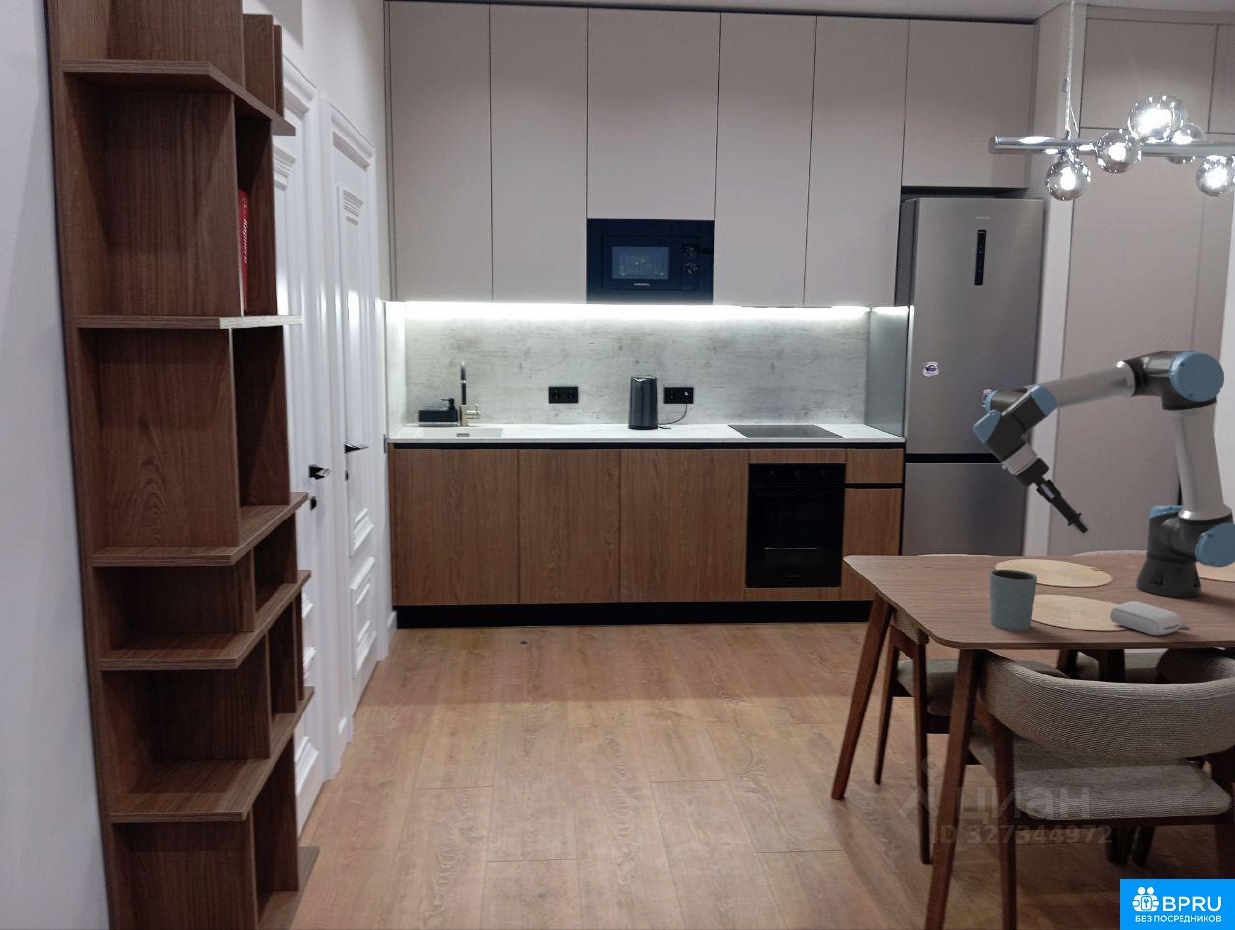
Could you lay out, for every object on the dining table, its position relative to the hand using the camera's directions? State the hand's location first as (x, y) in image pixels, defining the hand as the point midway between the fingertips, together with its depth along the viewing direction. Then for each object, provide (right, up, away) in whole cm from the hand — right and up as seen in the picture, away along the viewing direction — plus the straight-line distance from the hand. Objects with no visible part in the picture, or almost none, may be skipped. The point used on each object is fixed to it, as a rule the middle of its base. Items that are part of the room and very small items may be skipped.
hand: (1094, 541), depth 233 cm
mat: (+13, -19, 0) cm, 23 cm away
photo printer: (+5, -16, -3) cm, 17 cm away
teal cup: (-23, -19, -7) cm, 31 cm away
